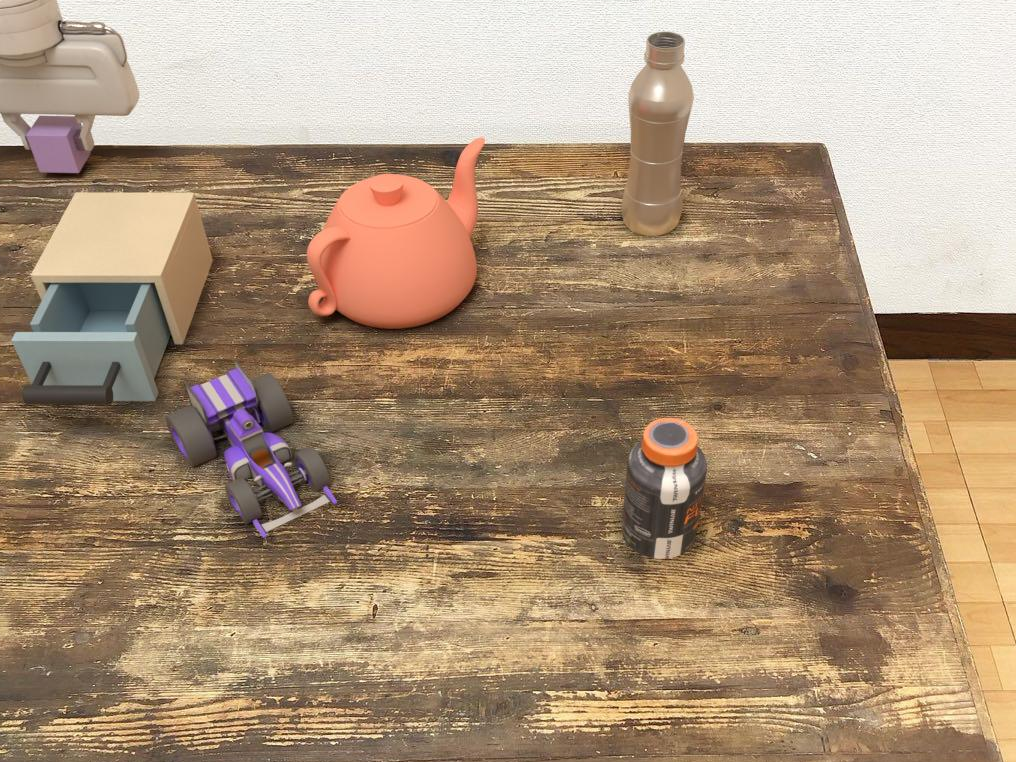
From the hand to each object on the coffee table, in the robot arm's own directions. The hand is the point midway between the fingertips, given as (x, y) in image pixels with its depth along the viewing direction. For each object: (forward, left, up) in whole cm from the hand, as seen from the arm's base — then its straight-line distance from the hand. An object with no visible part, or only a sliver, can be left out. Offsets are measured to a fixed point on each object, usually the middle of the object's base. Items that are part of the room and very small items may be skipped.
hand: (60, 148), depth 119 cm
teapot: (+40, -21, -4) cm, 46 cm away
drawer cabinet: (+14, -24, -4) cm, 28 cm away
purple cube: (0, 0, -2) cm, 2 cm away
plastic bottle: (+65, -10, -4) cm, 66 cm away
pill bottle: (+63, -54, -4) cm, 84 cm away
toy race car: (+30, -47, -4) cm, 56 cm away
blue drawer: (+14, -35, -3) cm, 38 cm away
